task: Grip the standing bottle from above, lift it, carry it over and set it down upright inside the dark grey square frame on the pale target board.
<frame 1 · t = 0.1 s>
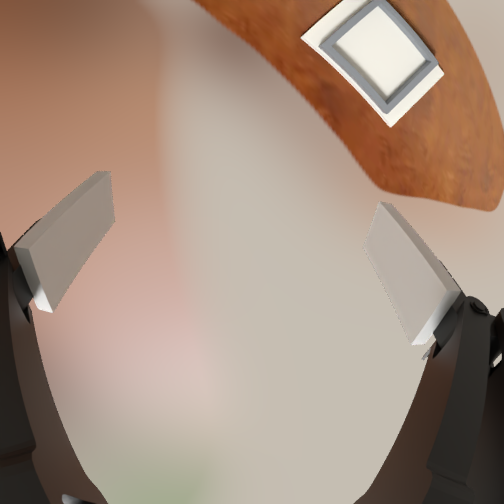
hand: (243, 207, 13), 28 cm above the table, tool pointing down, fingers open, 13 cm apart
target board: (379, 52, 29), on the table
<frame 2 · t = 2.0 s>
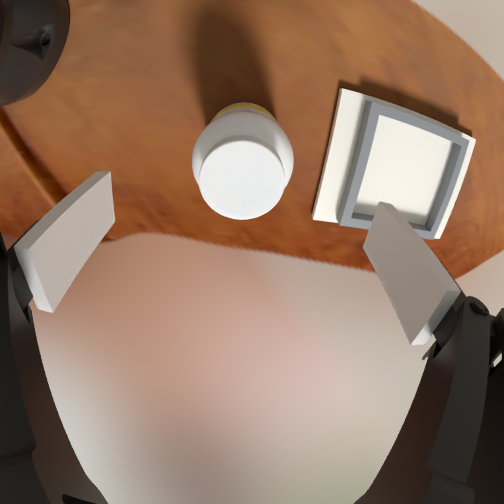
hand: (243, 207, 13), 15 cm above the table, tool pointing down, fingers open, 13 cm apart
target board: (401, 171, 27), on the table
supplement bottle: (244, 134, 26), on the table
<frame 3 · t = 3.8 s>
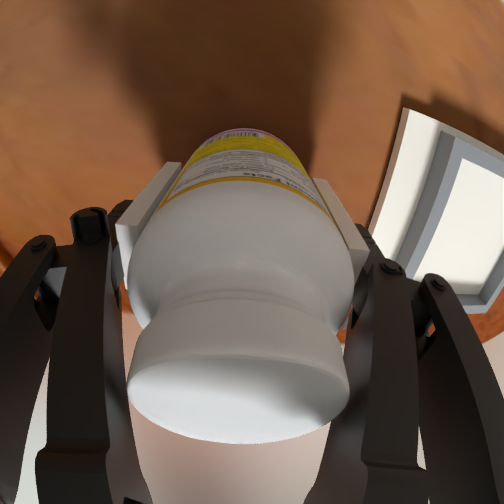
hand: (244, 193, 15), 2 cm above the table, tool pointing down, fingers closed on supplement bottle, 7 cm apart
target board: (465, 232, 17), on the table
supplement bottle: (244, 181, 16), on the table, touching gripper
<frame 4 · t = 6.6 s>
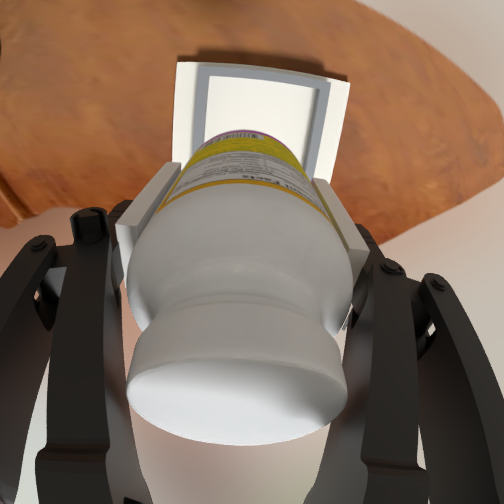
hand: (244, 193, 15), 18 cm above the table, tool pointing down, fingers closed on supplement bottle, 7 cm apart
target board: (257, 128, 29), on the table
supplement bottle: (244, 182, 16), point 16 cm above the table, touching gripper
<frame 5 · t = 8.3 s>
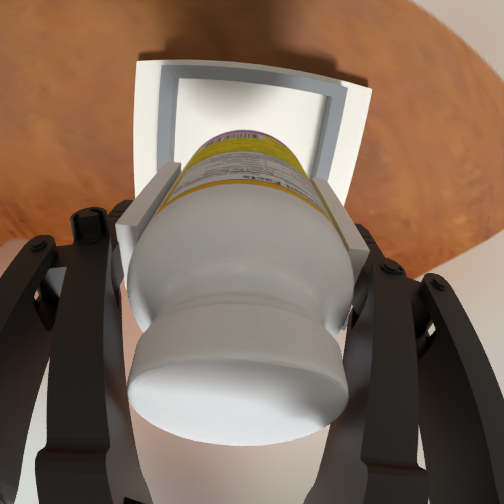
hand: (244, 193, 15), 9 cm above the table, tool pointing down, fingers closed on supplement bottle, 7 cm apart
target board: (244, 149, 22), on the table
supplement bottle: (244, 183, 16), point 7 cm above the table, touching gripper
when the fingers open (4 cm above the table, at t = 9.6 s): supplement bottle drops 1 cm, resting on target board.
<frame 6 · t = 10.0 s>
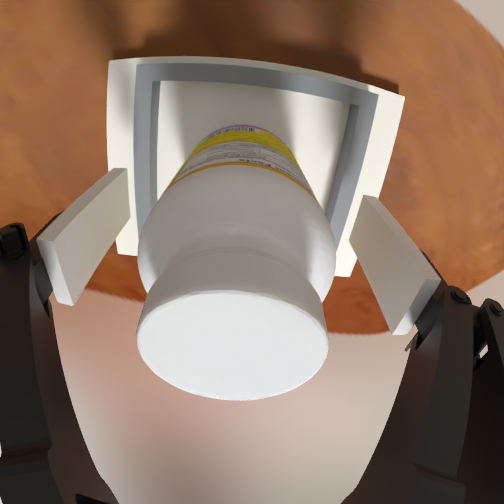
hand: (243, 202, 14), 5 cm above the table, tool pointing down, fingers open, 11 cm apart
target board: (245, 170, 18), on the table
supplement bottle: (242, 173, 17), point 1 cm above the table, touching target board
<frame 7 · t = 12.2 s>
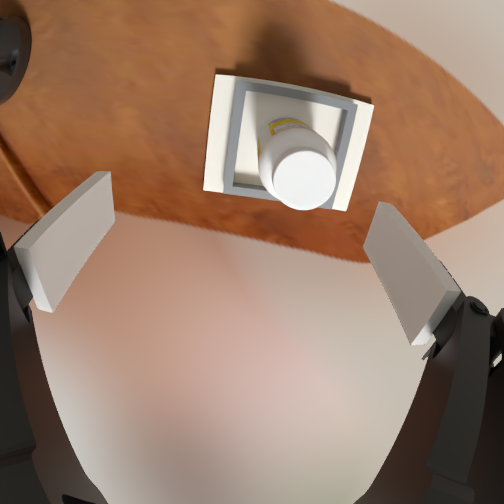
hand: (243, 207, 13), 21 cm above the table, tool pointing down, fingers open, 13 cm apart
target board: (287, 143, 31), on the table
supplement bottle: (286, 144, 31), point 1 cm above the table, touching target board
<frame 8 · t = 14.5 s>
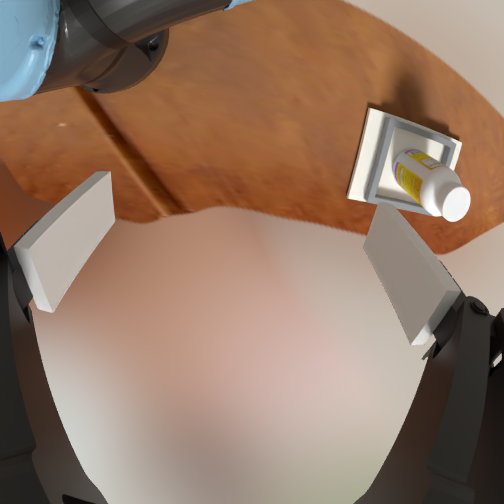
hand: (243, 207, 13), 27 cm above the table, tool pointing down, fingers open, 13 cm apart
target board: (408, 166, 38), on the table
supplement bottle: (409, 167, 37), point 1 cm above the table, touching target board
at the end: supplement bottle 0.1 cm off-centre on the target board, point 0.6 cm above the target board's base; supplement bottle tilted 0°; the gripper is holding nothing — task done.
